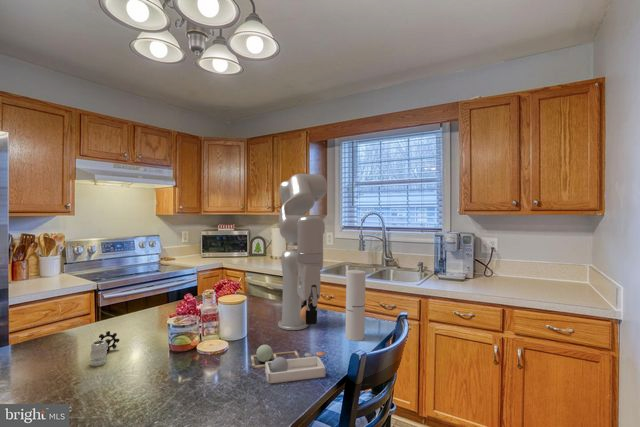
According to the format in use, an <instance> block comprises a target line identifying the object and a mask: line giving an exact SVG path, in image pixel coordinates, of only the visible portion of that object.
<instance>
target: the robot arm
mask: <svg viewBox="0 0 640 427" xmlns="http://www.w3.org/2000/svg"><path fill="white" fill-rule="evenodd" d="M327 183H328V182H327V179H326V177H325V176H324V175H323V174H318V173H296V174H293V175H291V177H289V180H285V181H282V182H280V184H279V188H278V189H279V190H278V192H279V198H280V201H281V205H282V206H281V207H280V209H279V212H278V213H279V214H278V228H279V229H278V230H279V233H280V235H281V237H282V238H283V239H285V240H284V241H285V243H286V244H287V245H289V246H293V247H294V246H296V248H290V249H286V250H284V251H283V252H282V254H281V256H280V262H281V270H282V271H281V272H282V300H281V301H282V304H281V305H282V306H281V308H282V309H281V311H282V312H281V319H280V320H279V321H278V323H277V324H278V327H279V328H280V329H283V330H287V331H301V330H304V329H307V328H308V327H309V325H317V323H318V304H319V299H321V286H322V285H321V283H322V282H321V271H322V269H323V267H324V234H325V229H326V227H325V226H326V225H325V224H326V223H325V221H324V219H323V218H322V217H320V216H319V215H306V213H307V212H309V211H310V210H311V209H313V207H314V205H315V202H320V201H321V200H322V199H323V198H324V197H325V196H326V195H327V192H328V184H327ZM306 305H307V310H306V322H304V321H303V320H302V319H301V316H300V312H301V310H302V308H303V307H304V306H306Z"/></svg>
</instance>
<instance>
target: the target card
mask: <svg viewBox="0 0 640 427" xmlns="http://www.w3.org/2000/svg"><path fill="white" fill-rule="evenodd" d="M315 355H316V356H318V357H319V356H321V357H323V356H325V355H326V353H325V352H324V351H317V352H316V354H315ZM304 356H305V358H306V357H314V353H313V352H305V353H304Z"/></svg>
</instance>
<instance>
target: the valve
mask: <svg viewBox="0 0 640 427" xmlns="http://www.w3.org/2000/svg"><path fill="white" fill-rule="evenodd" d="M117 335H118V333H117V332H114V333H113V334H111V331H110V330H108V331H106V332H105V334H102V333H101V334H99V336H98V338H99V339H98V340H95V341H93V342H92V343H91V345H90V346H91V347H90V348H91V349H90V350H91V351H90V352H89V357H90V359H91V360H90V366H91V367H99V366H103V365H105V364H106V359H107V358H106V357H107V353H108V352H110V350H111V348H112V349H113V350H116V348H117V347H118V346H117V344H118V343H119V342H120V340H121V339H120V338H116V337H117ZM105 338H106V339H105ZM110 338H111V339H110ZM104 339H105V340H104ZM111 342H113V343H112V344H111ZM116 343H117V344H116Z"/></svg>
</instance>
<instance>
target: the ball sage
mask: <svg viewBox="0 0 640 427" xmlns="http://www.w3.org/2000/svg"><path fill="white" fill-rule="evenodd" d="M273 353H274V351H273V349H272V347H271V346H270V345H268V344H261V345H260V346H259V347H258V348H257V349H256V353H255V355H256V356H257V357H256V358H257V360H258V361H259V362H262V363H265V362H268V361H270V360H271V359H272V357H273V356H272V354H273Z"/></svg>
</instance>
